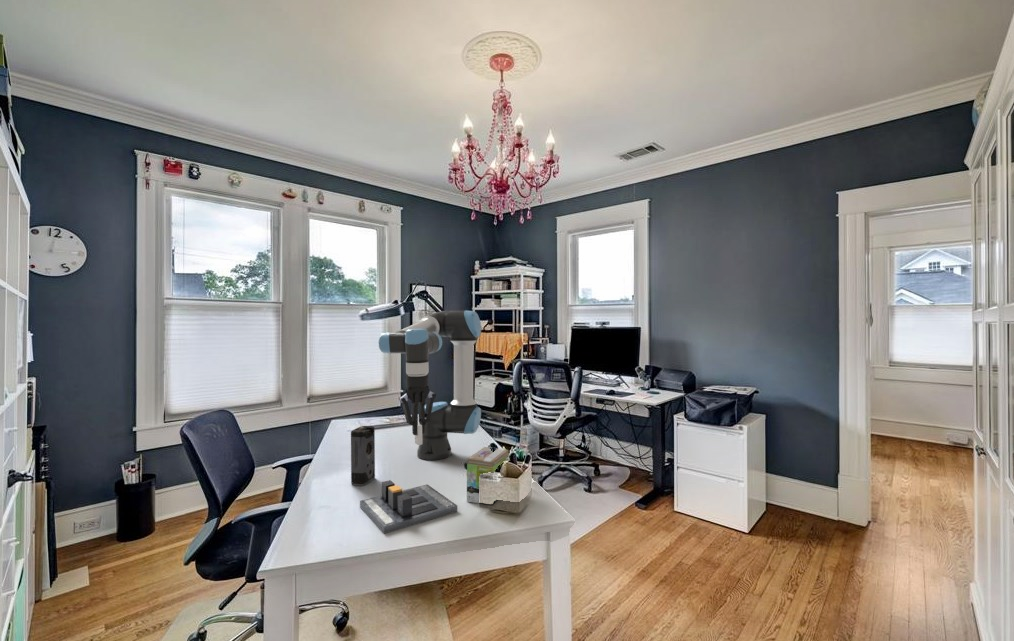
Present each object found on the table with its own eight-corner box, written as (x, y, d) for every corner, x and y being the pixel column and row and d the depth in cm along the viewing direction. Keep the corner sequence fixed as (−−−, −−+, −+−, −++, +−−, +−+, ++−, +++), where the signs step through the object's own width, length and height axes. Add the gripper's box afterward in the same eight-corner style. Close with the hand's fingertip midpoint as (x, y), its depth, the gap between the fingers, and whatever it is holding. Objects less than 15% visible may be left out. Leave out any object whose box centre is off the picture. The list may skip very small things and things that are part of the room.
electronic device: (364, 486, 162) (363, 432, 162) (349, 485, 163) (348, 431, 163) (376, 477, 171) (376, 425, 171) (362, 476, 172) (362, 425, 172)
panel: (427, 489, 159) (427, 469, 159) (457, 511, 141) (457, 488, 141) (360, 506, 145) (359, 484, 145) (383, 533, 127) (383, 508, 127)
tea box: (493, 506, 145) (493, 461, 145) (465, 502, 148) (465, 458, 148) (509, 489, 159) (509, 448, 159) (483, 486, 162) (483, 445, 162)
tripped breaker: (397, 502, 143) (397, 485, 143) (402, 506, 139) (402, 488, 139) (388, 504, 141) (388, 487, 141) (393, 509, 138) (392, 491, 138)
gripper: (430, 371, 156) (431, 437, 157) (394, 375, 148) (396, 444, 149) (439, 373, 150) (441, 442, 151) (403, 378, 142) (405, 450, 143)
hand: (418, 443), depth 150 cm, fingers closed
